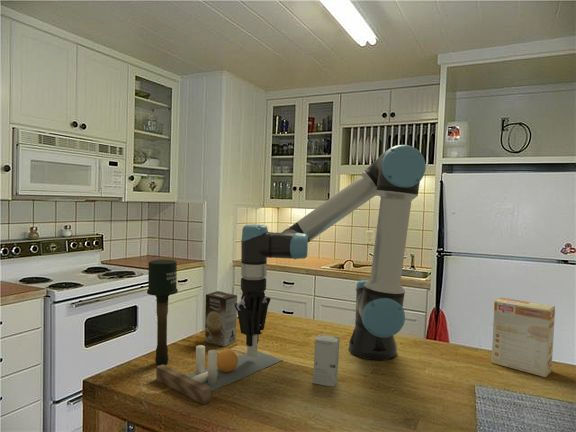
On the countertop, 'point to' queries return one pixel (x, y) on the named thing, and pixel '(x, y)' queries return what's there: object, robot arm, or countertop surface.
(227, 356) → the ball
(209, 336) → the coffee box
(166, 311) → the potato masher grenade
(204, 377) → the front pin
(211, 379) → the pin
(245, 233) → the robot arm
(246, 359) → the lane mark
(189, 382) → the back wall
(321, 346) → the skincare box
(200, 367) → the pin
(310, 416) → the countertop surface
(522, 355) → the coffeecake box
